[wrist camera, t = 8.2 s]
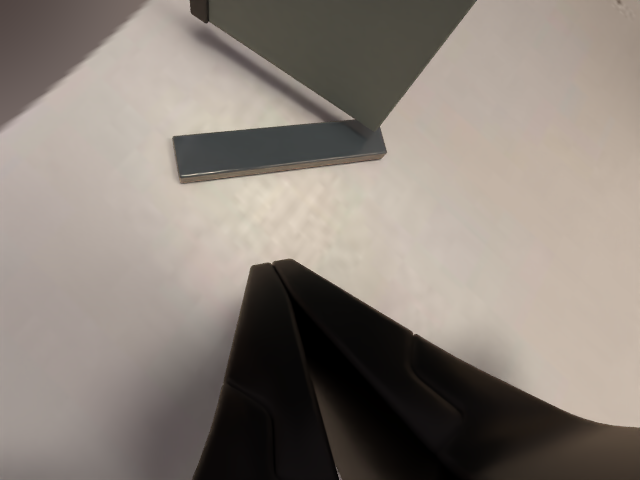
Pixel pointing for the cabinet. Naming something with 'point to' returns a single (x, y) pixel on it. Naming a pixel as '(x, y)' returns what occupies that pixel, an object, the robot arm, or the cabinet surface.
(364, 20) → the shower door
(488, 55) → the cabinet surface
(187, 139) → the dark grey flat bar
